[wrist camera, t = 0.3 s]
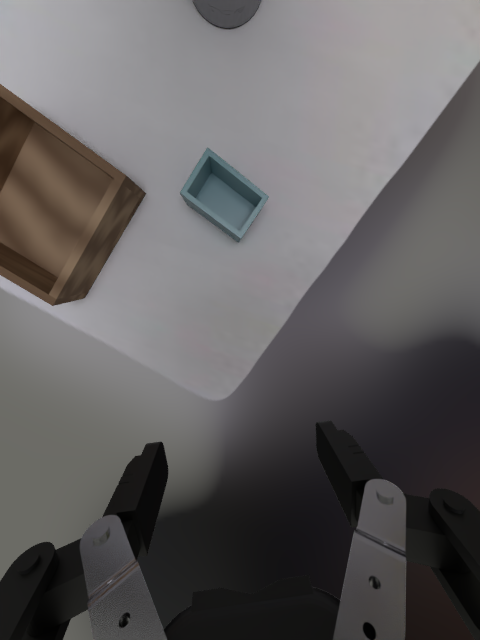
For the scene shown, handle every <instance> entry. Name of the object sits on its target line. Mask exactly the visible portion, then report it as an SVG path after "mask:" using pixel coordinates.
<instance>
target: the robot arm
mask: <svg viewBox="0 0 480 640" xmlns="http://www.w3.org/2000/svg"><path fill="white" fill-rule="evenodd" d="M193 2H194V4H195V6H196V8H197V9H198V11H199V12H200V13H201V14H202V16H203V17H204V18H205V19H207V20H208V21H209V22H211V23H212V24H214V25H216V26H219V27H224V28H233V27H237V26H240V25H242V24H244V23H245V22H247V21H248V20H249V19H250V18H251V17H252V16H253V15H254V13H255V12H256V10H257V9H258V7H259V4H260V2H261V0H193ZM316 448H317V453H318V457H319V460H320V462H321V464H322V466H323V469H324V471H325V473H326V475H327V477H328V479H329V481H330V483H331V485H332V488H333V490H334V492H335V494H336V496H337V498H338V501H339V503H340V505H341V507H342V509H343V511H344V513H345V515H346V518H347V520H348V522H349V524H350V526H351V527H357V529H355V531H354V535H353V540H352V545H351V551H350V555H349V560H348V565H347V570H346V575H345V580H344V586H343V591H342V596H341V601H340V600H339V599H338V598H336V597H334V596H333V595H332V594H330V593H328V592H326V591H324V590H321V589H318V588H314V587H312V586H311V582H310V578H309V575H306V576H299V577H293V578H286V579H280V580H278V581H276V582H274V583H272V584H271V585H269V586H267V587H265V588H263V589H261V590H259V591H257V592H255V593H252V594H249V593H244V592H239V591H234V590H229V589H224V588H218V589H211V590H204V591H198V592H193V597H192V605H191V606H189V607H187V608H186V609H185V610H183V611H182V612H180V613H179V614H178V615H177V616H176V617H175V618H174V619H172V621H171V622H170V623H169V624H168V625H167V626H166V627H165V629H164V630H163V627H162V625H161V622H160V620H159V617H158V614H157V612H156V609H155V607H154V604H153V601H152V599H151V596H150V593H149V591H148V588H147V585H146V583H145V581H144V578H143V575H142V572H141V570H140V567H139V565H138V562H137V558H138V557H140V556H147V555H148V551H149V547H150V544H151V540H152V536H153V532H154V529H155V525H156V521H157V517H158V513H159V510H160V506H161V502H162V498H163V494H164V491H165V487H166V483H167V479H168V465H167V460H166V455H165V450H164V445H163V443H162V442H155V443H148V444H146V445H145V448H144V450H143V452H142V454H141V455H140V456H135V457H134V458H133V459H132V461H131V462H130V463H129V464H128V465H127V467H126V469H125V471H124V473H123V476H122V477H121V479H120V481H119V485H118V486H117V488H116V490H115V492H114V494H113V496H112V498H111V500H110V502H109V504H108V507H107V508H106V510H105V513H104V515H103V517H102V518H100V519H98V520H97V521H95V522H94V523H93V524H92V525H91V526H90V527H89V528H88V529H87V530H86V531H85V533H84V534H83V536H82V538H81V539H79V540H77V541H75V542H72V543H70V544H68V545H66V546H63V547H61V548H59V549H57V550H55V548H54V545H53V544H52V543H50V542H43V543H39V544H37V545H35V546H33V547H31V548H30V549H28V550H26V551H25V552H24V553H23V554H21V555H20V556H19V557H18V558H17V559H16V560H15V561H14V562H13V564H12V565H11V566H10V567H9V569H8V570H7V572H6V573H5V575H4V577H3V578H2V580H1V581H0V640H63V637H64V635H65V632H66V630H67V627H68V625H69V622H70V620H71V618H73V617H75V616H76V615H78V614H80V613H81V612H84V611H86V610H88V611H89V616H90V622H91V628H92V634H93V640H405V598H406V597H405V596H406V561H410V562H414V563H418V564H423V565H427V566H430V567H431V569H432V571H433V572H434V574H435V575H436V577H437V579H438V580H439V582H440V583H441V585H442V587H443V588H444V590H445V592H446V593H447V595H448V597H449V598H450V600H451V602H452V603H453V605H454V606H455V608H456V610H457V611H458V613H459V614H460V616H461V618H462V619H463V621H464V623H465V624H466V626H467V627H468V629H469V631H470V632H471V634H472V636H473V637H474V639H475V640H480V511H479V510H478V509H477V508H476V507H475V506H474V505H473V504H472V503H471V502H470V501H469V500H468V499H466V498H465V497H463V496H462V495H460V494H458V493H456V492H454V491H451V490H447V489H434V490H433V491H431V493H430V496H429V498H424V497H418V496H412V495H407V494H404V493H402V491H401V490H400V489H399V488H398V487H396V486H395V485H394V484H392V483H390V482H388V481H386V480H384V479H383V478H382V476H381V475H380V474H379V472H378V471H377V469H376V468H375V467H374V465H373V464H372V463H371V461H370V460H369V458H368V457H367V456H366V454H365V453H364V452H363V450H362V449H361V447H360V446H359V445H358V443H357V442H356V440H355V439H354V438H353V436H351V435H350V434H349V433H347V432H346V431H344V430H337V429H336V427H335V426H334V424H333V423H332V421H324V422H317V423H316Z"/></svg>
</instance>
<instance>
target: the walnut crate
mask: <svg viewBox="0 0 480 640" xmlns="http://www.w3.org/2000/svg"><path fill="white" fill-rule="evenodd" d="M145 194H146V193H145V192H144V191H143V190H142V189H140V188H139V187H138V186H137V185H136V184H135V183H134V182H133V181H132V180H130V179H129V178H128V177H127V176H126V175H124V174H123V173H122V172H120V171H119V170H118V169H116V168H115V167H113V166H112V165H111V164H109V163H108V162H107V161H105V160H104V159H102V158H101V157H100V156H98V155H97V154H96V153H94V152H93V151H92V150H90V149H89V148H87V147H86V146H85V145H83V144H82V143H81V142H79V141H78V140H76V139H75V138H74V137H72V136H71V135H70V134H68V133H67V132H65V131H64V130H63V129H61V128H60V127H59V126H57V125H56V124H54V123H53V122H52V121H50V120H49V119H48V118H46V117H45V116H43V115H42V114H41V113H39V112H38V111H37V110H35V109H34V108H32V107H31V106H30V105H28V104H27V103H26V102H24V101H23V100H21V99H20V98H19V97H17V96H16V95H15V94H13V93H12V92H11V91H9V90H8V89H6V88H5V87H4V86H2V85H1V84H0V275H1V276H3V277H5V278H6V279H8V280H10V281H12V282H13V283H15V284H17V285H18V286H20V287H22V288H23V289H25V290H27V291H28V292H30V293H32V294H34V295H35V296H37V297H39V298H40V299H42V300H44V301H45V302H47V303H49V304H50V305H52V306H54V305H58V304H62V303H66V302H71V301H75V300H79V299H83V298H85V297H86V295H87V293H88V291H89V290H90V288H91V286H92V285H93V283H94V281H95V279H96V278H97V276H98V274H99V273H100V271H101V269H102V268H103V266H104V264H105V262H106V261H107V259H108V257H109V256H110V254H111V252H112V250H113V249H114V247H115V245H116V244H117V242H118V240H119V239H120V237H121V235H122V233H123V232H124V230H125V228H126V227H127V225H128V223H129V221H130V220H131V218H132V216H133V215H134V213H135V211H136V210H137V208H138V206H139V204H140V203H141V201H142V199H143V198H144V196H145Z"/></svg>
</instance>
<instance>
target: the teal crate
mask: <svg viewBox="0 0 480 640" xmlns="http://www.w3.org/2000/svg"><path fill="white" fill-rule="evenodd" d="M180 194H181V196H182V197H183V199H184V200H185V202H186V203H187V205H188V206H190V207H191V208H193V209H194V210H195V211H197V212H198V213H199V214H201V215H202V216H203V217H205V218H206V219H207V220H209V221H210V222H211V223H213V224H214V225H215V226H217V227H218V228H220V229H221V230H222V231H224V232H225V233H226V234H228V235H229V236H230V237H232V238H233V239H234V240H236V241H237V242H238V243H239V241H240V240H241V238H242V237H243V235H244V234H245V232H246V231H247V230H248V228H249V227H250V225H251V224H252V222H253V221H254V219H255V218H256V216H257V215H258V213H259V212H260V210H261V209H262V207H263V206H264V204H265V203H266V201H267V199H268V198H269V196H268V195H266V194H265V193H264V192H263V191H261V190H260V189H259V188H258V187H256V186H255V185H254V184H253V183H251V182H250V181H249V180H248V179H246V178H245V177H244V176H243V175H241V174H240V173H239V172H238V171H236V170H235V169H234V168H233V167H231V166H230V165H229V164H228V163H226V162H225V161H224V160H223V159H221V158H220V157H219V156H218V155H216V154H215V153H214V152H213V151H211V150H210V149H209V148H207V149H206V151H205V152H204V154H203V156H202V157H201V159H200V161H199V162H198V164H197V166H196V167H195V169H194V170H193V172H192V174H191V175H190V177H189V179H188V180H187V182H186V184H185V185H184V187H183V189H182V190H181V192H180Z"/></svg>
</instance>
